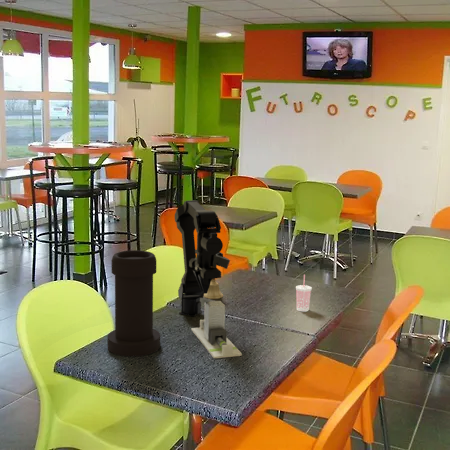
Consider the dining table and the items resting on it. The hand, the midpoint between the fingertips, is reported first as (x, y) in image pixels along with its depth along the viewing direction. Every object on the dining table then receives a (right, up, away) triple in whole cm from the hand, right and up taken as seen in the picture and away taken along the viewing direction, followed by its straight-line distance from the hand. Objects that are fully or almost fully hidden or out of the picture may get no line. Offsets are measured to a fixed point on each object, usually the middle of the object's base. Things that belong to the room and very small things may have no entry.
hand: (204, 292), depth 210 cm
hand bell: (+2, -6, +41) cm, 41 cm away
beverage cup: (+37, -10, +26) cm, 46 cm away
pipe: (-22, -16, -16) cm, 31 cm away
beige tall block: (+3, -15, -9) cm, 18 cm away
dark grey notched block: (+5, -16, -13) cm, 21 cm away
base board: (+4, -15, -11) cm, 19 cm away
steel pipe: (+4, -14, -10) cm, 18 cm away
